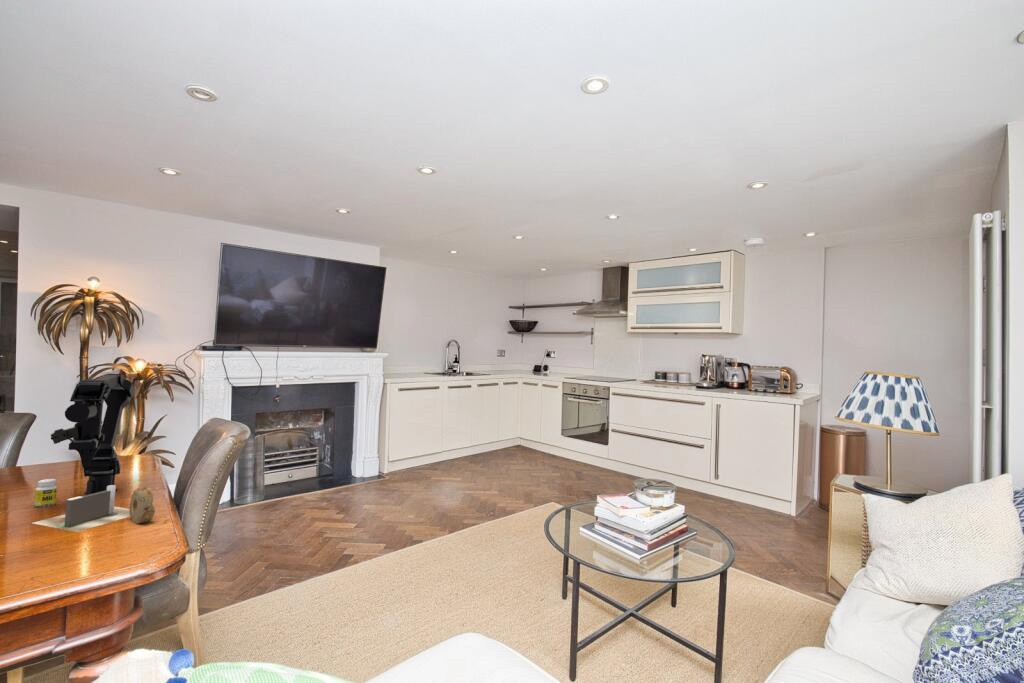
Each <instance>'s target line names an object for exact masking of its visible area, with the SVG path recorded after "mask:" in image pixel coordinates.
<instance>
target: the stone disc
mask: <svg viewBox="0 0 1024 683" xmlns="http://www.w3.org/2000/svg"><path fill="white" fill-rule="evenodd" d="M153 501H154V492H153V490H152V488H151V487H148V486H147V487H139V488H136V489H134V490H133V492H132V494H131V496H130V501H129V502H130V503H129V508H128V509H129V512H130V517H129V518H130V520H131V522H133V523H135V524H145V523H149V522H151V521H152V520H153V518H154V516H155V513H156V507H155V506H154V504H153Z"/></svg>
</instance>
